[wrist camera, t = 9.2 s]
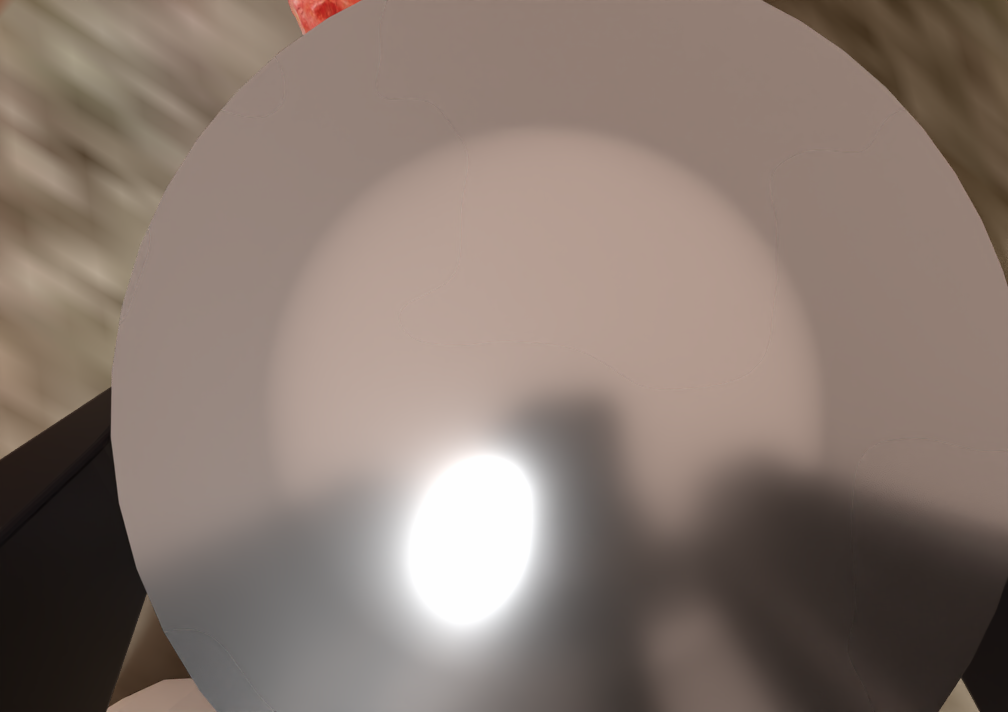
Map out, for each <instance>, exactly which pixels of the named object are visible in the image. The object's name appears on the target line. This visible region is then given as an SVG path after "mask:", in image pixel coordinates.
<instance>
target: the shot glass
mask: <svg viewBox="0 0 1008 712" xmlns="http://www.w3.org/2000/svg"><path fill="white" fill-rule="evenodd" d="M107 712H217V711H216V710H215V709H214V708H213V707H212V705H211V704H210V703H209V702H208V700H207V699H206V698H205V697H204V696H203V694H202V693H201V692H200V691H199V689H198V688H197V686H196V684H195V683H194V681H193V679H192V678H188V679H167V680H163V681H160V682H158V683H156V684H154V685H152V686H149V687H147V688H145V689H143V690H141V691H138V692H136V693H134V694H132V695H130V696H127V697H125V698H123V699H121V700H120V701H118V702H117V703H115V704H113V705H112V706H110V707H109V708H108V709H107Z"/></svg>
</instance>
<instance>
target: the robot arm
mask: <svg viewBox="0 0 1008 712" xmlns="http://www.w3.org/2000/svg"><path fill="white" fill-rule="evenodd" d="M111 394H112V387H110V388H109V389H107V390H106V391H104V392H102V393H101V394H99V395H98V396H96V397H95V398H93V399H92V400H90V401H89V402H87V403H86V404H84V405H83V406H81V407H80V408H78V409H77V410H75V411H74V412H72V413H71V414H69V415H68V416H66V417H64V418H63V419H61V420H60V421H58V422H57V423H55V424H54V425H52V426H51V427H49V428H48V429H46V430H45V431H43V432H42V433H40V434H39V435H37V436H36V437H34V438H32V439H31V440H29V441H28V442H26V443H25V444H23V445H22V446H20V447H19V448H17V449H16V450H14V451H13V452H11V453H10V454H8V455H7V456H5V457H4V458H2V459H0V712H107V709H108V706H109V703H110V700H111V697H112V694H113V691H114V688H115V685H116V682H117V679H118V676H119V674H120V671H121V668H122V665H123V662H124V659H125V656H126V653H127V650H128V647H129V644H130V641H131V638H132V635H133V633H134V630H135V627H136V624H137V621H138V618H139V615H140V612H141V609H142V606H143V603H144V600H145V597H146V594H147V592H146V589H145V587H144V585H143V582H142V580H141V578H140V575H139V573H138V571H137V568H136V564H135V561H134V557H133V553H132V550H131V546H130V542H129V538H128V535H127V531H126V527H125V523H124V520H123V516H122V512H121V509H120V505H119V499H118V491H117V483H116V475H115V466H114V458H113V450H112V442H111ZM961 679H962V680H963V682H964V684H965V686H966V688H967V690H968V691H969V693H970V695H971V697H972V699H973V700H974V702H975V704H976V706H977V708H978V710H979V711H980V712H1008V577H1007V580H1006V583H1005V585H1004V588H1003V591H1002V594H1001V597H1000V600H999V603H998V606H997V609H996V612H995V614H994V616H993V618H992V620H991V622H990V624H989V626H988V628H987V630H986V632H985V634H984V636H983V638H982V640H981V642H980V644H979V646H978V649H977V651H976V653H975V655H974V657H973V659H972V661H971V663H970V665H969V666H968V668H967V669H966V671H965V672H964V674H963V675H962V677H961Z"/></svg>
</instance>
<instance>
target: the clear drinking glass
mask: <svg viewBox="0 0 1008 712" xmlns="http://www.w3.org/2000/svg"><path fill="white" fill-rule="evenodd" d="M111 442H112V450H113V458H114V466H115V475H116V483H117V491H118V499H119V505H120V509H121V512H122V516H123V520H124V523H125V527H126V531H127V535H128V538H129V542H130V546H131V550H132V553H133V557H134V561H135V564H136V568H137V571H138V573H139V575H140V578H141V580H142V582H143V585H144V587H145V589H146V592H147V594H148V596H149V599H150V601H151V603H152V606H153V608H154V610H155V613H156V615H157V617H158V620H159V622H160V625H161V627H162V629H163V631H164V633H165V635H166V636H167V638H168V640H169V641H170V643H171V645H172V646H173V648H174V650H175V651H176V653H177V655H178V656H179V658H180V660H181V661H182V663H183V664H184V666H185V668H186V669H187V671H188V673H189V674H190V676H191V678H192V679H193V681H194V683H195V684H196V686H197V688H198V689H199V691H200V692H201V693H202V694H203V696H204V697H205V698H206V699H207V700H208V702H209V703H210V704H211V705H212V707H213V708H214V709H215V710H216V711H217V712H938V711H939V710H940V708H941V707H942V705H943V704H944V702H945V701H946V699H947V698H948V696H949V695H950V693H951V692H952V690H953V689H954V687H955V686H956V684H957V683H958V681H959V680H960V678H961V677H962V675H963V674H964V672H965V671H966V669H967V668H968V666H969V665H970V663H971V661H972V659H973V657H974V655H975V653H976V651H977V649H978V646H979V644H980V642H981V640H982V638H983V636H984V634H985V632H986V630H987V628H988V626H989V624H990V622H991V620H992V618H993V616H994V614H995V612H996V609H997V606H998V603H999V600H1000V597H1001V594H1002V591H1003V588H1004V585H1005V583H1006V580H1007V577H1008V286H1007V283H1006V279H1005V276H1004V272H1003V270H1002V267H1001V265H1000V263H999V260H998V258H997V255H996V253H995V251H994V248H993V246H992V243H991V241H990V239H989V236H988V234H987V232H986V229H985V227H984V224H983V222H982V220H981V218H980V216H979V215H978V213H977V211H976V209H975V207H974V206H973V204H972V202H971V200H970V198H969V197H968V195H967V193H966V191H965V190H964V188H963V186H962V184H961V182H960V181H959V179H958V177H957V175H956V174H955V172H954V170H953V169H952V168H951V166H950V165H949V164H948V162H947V161H946V159H945V158H944V157H943V155H942V154H941V153H940V151H939V150H938V148H937V147H936V146H935V144H934V143H933V141H932V140H931V139H930V137H929V136H928V135H927V133H926V132H925V130H924V129H923V128H922V127H921V125H920V124H919V123H918V122H917V121H916V120H915V119H914V118H913V117H912V116H911V114H910V113H909V112H908V111H907V110H906V109H905V108H904V107H903V106H902V105H901V104H900V102H899V101H898V100H897V99H896V98H895V97H894V96H893V95H892V94H891V93H890V91H889V90H888V89H887V88H886V87H885V86H884V85H883V84H881V83H880V82H879V81H878V80H877V79H876V78H874V77H873V76H872V75H871V74H870V73H869V72H868V71H866V70H865V69H864V68H863V67H862V66H861V65H860V64H858V63H857V62H856V61H855V60H854V59H853V58H852V57H850V56H849V55H848V54H847V53H846V52H845V51H843V50H842V49H840V48H839V47H837V46H836V45H835V44H833V43H832V42H830V41H829V40H827V39H826V38H824V37H823V36H821V35H820V34H819V33H817V32H816V31H814V30H813V29H811V28H810V27H808V26H807V25H806V24H804V23H803V22H801V21H800V20H798V19H796V18H794V17H792V16H790V15H788V14H786V13H785V12H783V11H781V10H779V9H777V8H775V7H773V6H771V5H770V4H768V3H766V2H764V1H762V0H361V1H359V2H358V3H356V4H354V5H352V6H350V7H348V8H346V9H344V10H342V11H340V12H338V13H337V14H335V15H333V16H331V17H329V18H327V19H326V20H324V21H323V22H322V23H320V24H319V25H317V26H316V27H314V28H313V29H312V30H310V31H309V32H307V33H306V34H304V35H303V36H302V37H300V38H299V39H297V40H296V41H294V42H293V43H292V44H290V45H289V46H287V47H286V48H284V49H283V50H282V51H280V52H279V53H278V54H277V55H276V56H275V57H274V58H273V59H272V60H270V61H269V62H268V63H267V64H266V65H265V66H264V67H263V68H262V69H261V70H260V71H258V72H257V73H256V74H255V75H254V76H253V77H252V78H251V79H250V80H249V81H248V82H246V83H245V84H244V85H243V86H242V87H241V88H240V89H239V90H238V91H237V92H236V93H235V94H234V95H233V97H232V98H231V99H230V100H229V101H228V103H227V104H226V105H225V106H224V107H223V109H222V110H221V111H220V112H219V113H218V115H217V116H216V117H215V118H214V119H213V121H212V122H211V123H210V124H209V125H208V127H207V128H206V129H205V130H204V131H203V133H202V134H201V135H200V136H199V137H198V139H197V140H196V142H195V144H194V145H193V147H192V148H191V150H190V152H189V153H188V155H187V156H186V158H185V160H184V161H183V163H182V164H181V166H180V167H179V169H178V171H177V172H176V174H175V175H174V177H173V179H172V180H171V182H170V183H169V185H168V187H167V188H166V190H165V192H164V194H163V197H162V199H161V201H160V203H159V205H158V208H157V210H156V212H155V214H154V216H153V219H152V221H151V223H150V225H149V227H148V230H147V232H146V234H145V236H144V238H143V240H142V243H141V245H140V248H139V251H138V254H137V258H136V261H135V264H134V268H133V271H132V274H131V278H130V281H129V284H128V288H127V291H126V294H125V298H124V301H123V304H122V309H121V315H120V322H119V328H118V335H117V341H116V347H115V354H114V360H113V367H112V394H111Z"/></svg>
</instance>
